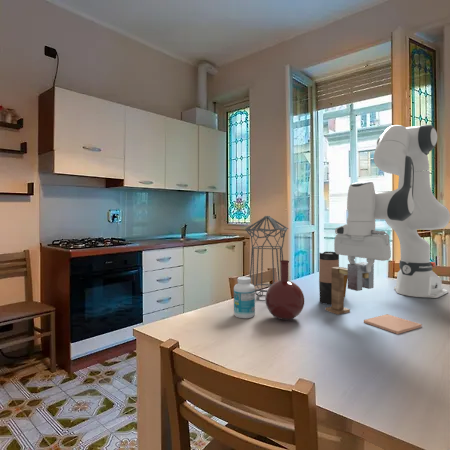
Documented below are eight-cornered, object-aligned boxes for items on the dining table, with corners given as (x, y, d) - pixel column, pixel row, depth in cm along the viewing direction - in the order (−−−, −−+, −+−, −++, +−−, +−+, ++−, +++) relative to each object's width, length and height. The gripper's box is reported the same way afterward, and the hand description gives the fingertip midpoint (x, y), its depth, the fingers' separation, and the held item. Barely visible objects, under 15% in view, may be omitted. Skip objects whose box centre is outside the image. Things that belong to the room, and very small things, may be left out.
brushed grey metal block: (363, 285, 117) (363, 262, 117) (373, 287, 113) (373, 263, 113) (347, 288, 113) (347, 264, 113) (357, 290, 110) (357, 265, 109)
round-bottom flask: (303, 313, 120) (303, 258, 119) (305, 326, 107) (305, 264, 106) (266, 312, 122) (265, 258, 121) (264, 324, 109) (263, 263, 108)
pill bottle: (232, 312, 122) (232, 276, 121) (253, 312, 123) (252, 275, 122) (235, 319, 115) (234, 280, 114) (256, 318, 115) (256, 279, 115)
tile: (387, 316, 116) (387, 314, 116) (421, 326, 105) (421, 324, 105) (363, 322, 110) (363, 319, 110) (397, 334, 100) (397, 331, 100)
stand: (337, 307, 127) (337, 265, 126) (372, 319, 113) (372, 272, 112) (325, 310, 124) (325, 267, 123) (360, 322, 110) (360, 274, 109)
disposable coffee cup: (348, 294, 146) (349, 267, 146) (349, 300, 137) (349, 271, 137) (326, 292, 149) (326, 266, 149) (325, 298, 140) (325, 269, 140)
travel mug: (340, 305, 130) (340, 254, 129) (319, 304, 131) (319, 253, 130) (337, 300, 137) (337, 251, 136) (318, 299, 139) (318, 251, 138)
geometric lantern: (244, 301, 137) (243, 216, 136) (255, 293, 151) (254, 216, 151) (282, 304, 131) (281, 215, 130) (290, 296, 145) (289, 215, 145)
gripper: (395, 230, 105) (395, 274, 105) (343, 228, 123) (343, 265, 123) (382, 231, 102) (381, 276, 102) (331, 228, 120) (331, 267, 120)
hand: (360, 270), depth 113 cm, fingers closed on brushed grey metal block, 4 cm apart
